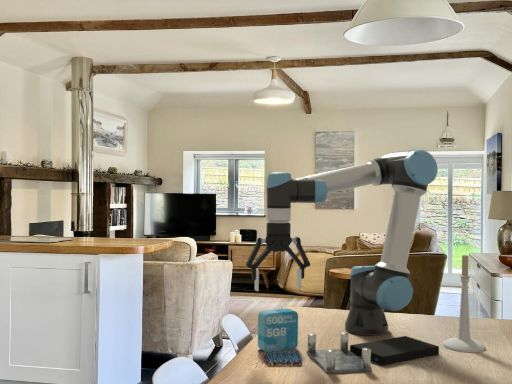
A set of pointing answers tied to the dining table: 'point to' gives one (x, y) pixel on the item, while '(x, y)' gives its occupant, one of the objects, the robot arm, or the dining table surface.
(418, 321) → the dining table surface
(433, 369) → the dining table surface
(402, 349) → the external hard drive
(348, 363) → the chassis
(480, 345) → the candlestick
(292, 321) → the data package
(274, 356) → the woven mat
